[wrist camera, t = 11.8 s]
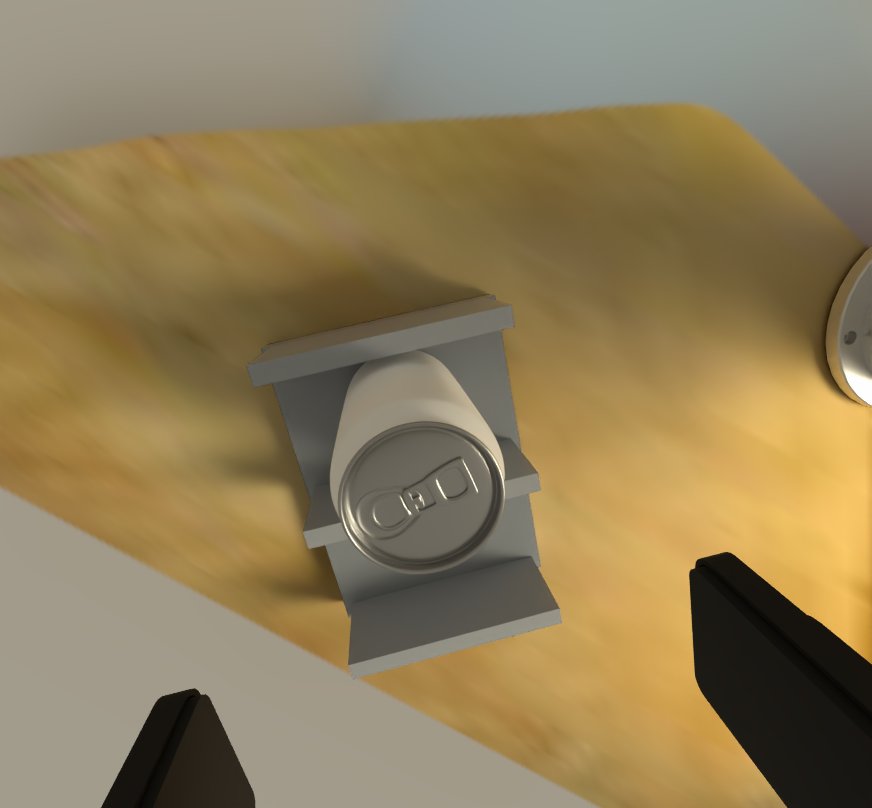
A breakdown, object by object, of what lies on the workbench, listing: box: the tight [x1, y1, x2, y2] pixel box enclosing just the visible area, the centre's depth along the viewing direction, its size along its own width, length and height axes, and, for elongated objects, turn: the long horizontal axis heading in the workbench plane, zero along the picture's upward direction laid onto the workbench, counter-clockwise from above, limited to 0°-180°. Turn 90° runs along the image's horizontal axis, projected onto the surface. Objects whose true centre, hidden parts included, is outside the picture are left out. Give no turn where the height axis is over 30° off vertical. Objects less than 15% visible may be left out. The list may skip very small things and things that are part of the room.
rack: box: [247, 294, 562, 679], centre depth 27 cm, size 13×18×6 cm
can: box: [330, 350, 505, 574], centre depth 21 cm, size 6×6×12 cm
